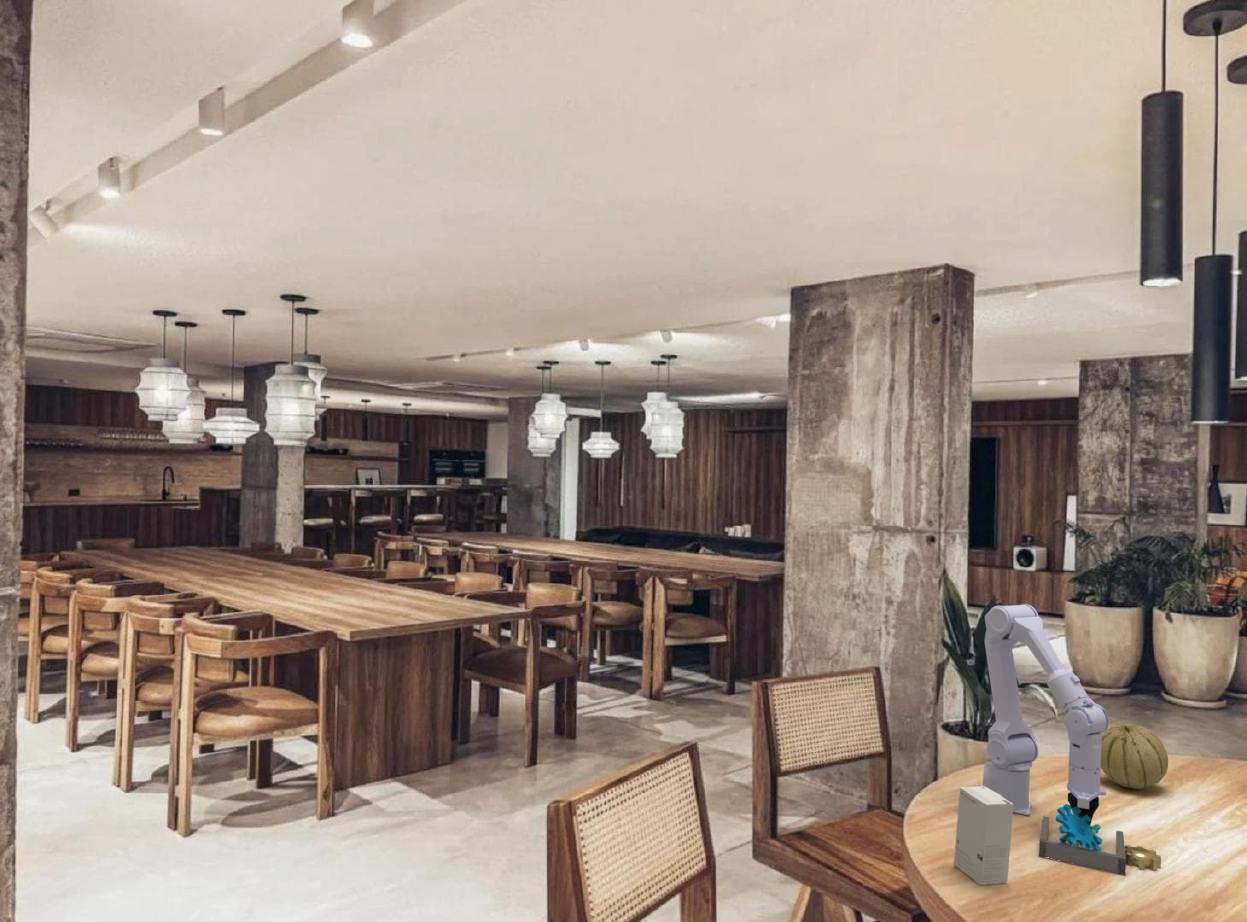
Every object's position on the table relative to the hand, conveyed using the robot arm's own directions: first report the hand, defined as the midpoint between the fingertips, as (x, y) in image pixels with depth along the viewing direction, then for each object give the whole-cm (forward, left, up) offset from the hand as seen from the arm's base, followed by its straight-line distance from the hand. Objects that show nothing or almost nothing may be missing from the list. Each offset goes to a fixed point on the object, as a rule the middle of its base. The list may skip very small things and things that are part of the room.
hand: (1082, 832), depth 180 cm
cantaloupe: (+10, +40, -1) cm, 41 cm away
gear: (0, -6, -1) cm, 6 cm away
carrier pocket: (+3, -7, -1) cm, 8 cm away
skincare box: (-16, -29, -1) cm, 33 cm away
